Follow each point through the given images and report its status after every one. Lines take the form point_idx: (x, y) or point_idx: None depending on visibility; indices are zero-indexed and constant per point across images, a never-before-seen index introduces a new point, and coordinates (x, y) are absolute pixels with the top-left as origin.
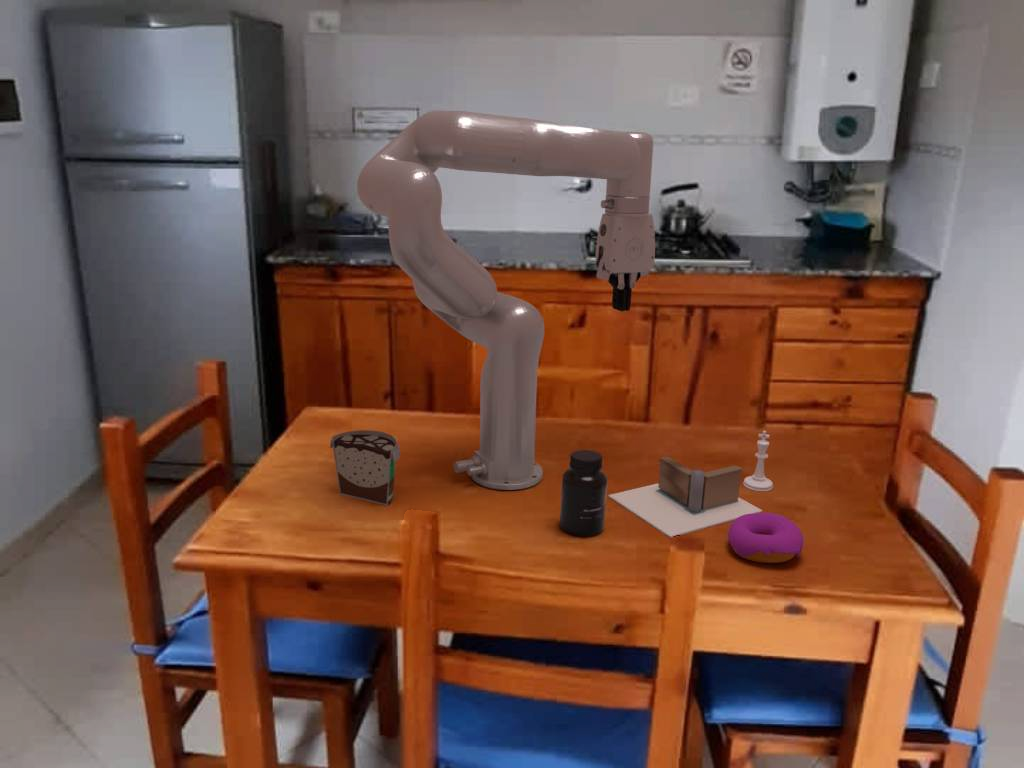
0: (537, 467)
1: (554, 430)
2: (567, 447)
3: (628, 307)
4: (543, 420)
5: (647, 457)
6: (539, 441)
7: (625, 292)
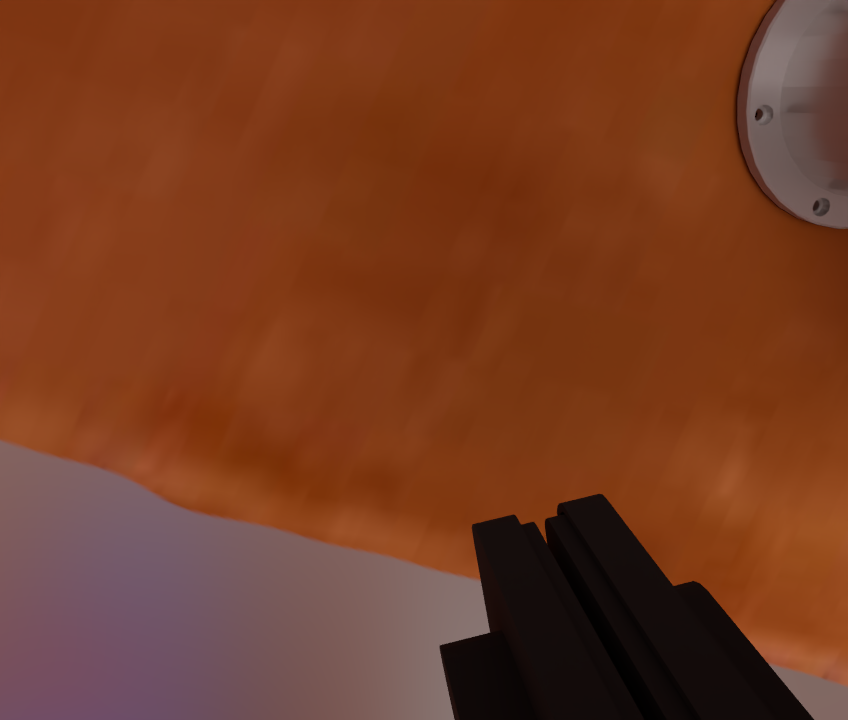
0: (767, 76)
1: (506, 468)
2: (532, 297)
3: (511, 536)
4: None
5: (255, 109)
6: (606, 377)
7: (711, 697)
